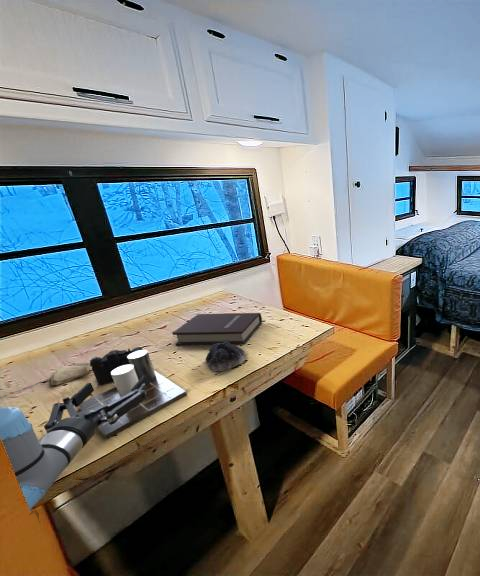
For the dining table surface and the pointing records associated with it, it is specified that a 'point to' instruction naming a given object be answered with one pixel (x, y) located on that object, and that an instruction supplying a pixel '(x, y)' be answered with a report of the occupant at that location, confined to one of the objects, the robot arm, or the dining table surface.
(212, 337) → the book
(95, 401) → the grid board
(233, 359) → the crystal cluster
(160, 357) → the dining table surface
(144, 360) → the shiny metal cylinder
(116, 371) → the white plastic cylinder
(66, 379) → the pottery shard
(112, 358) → the camera
